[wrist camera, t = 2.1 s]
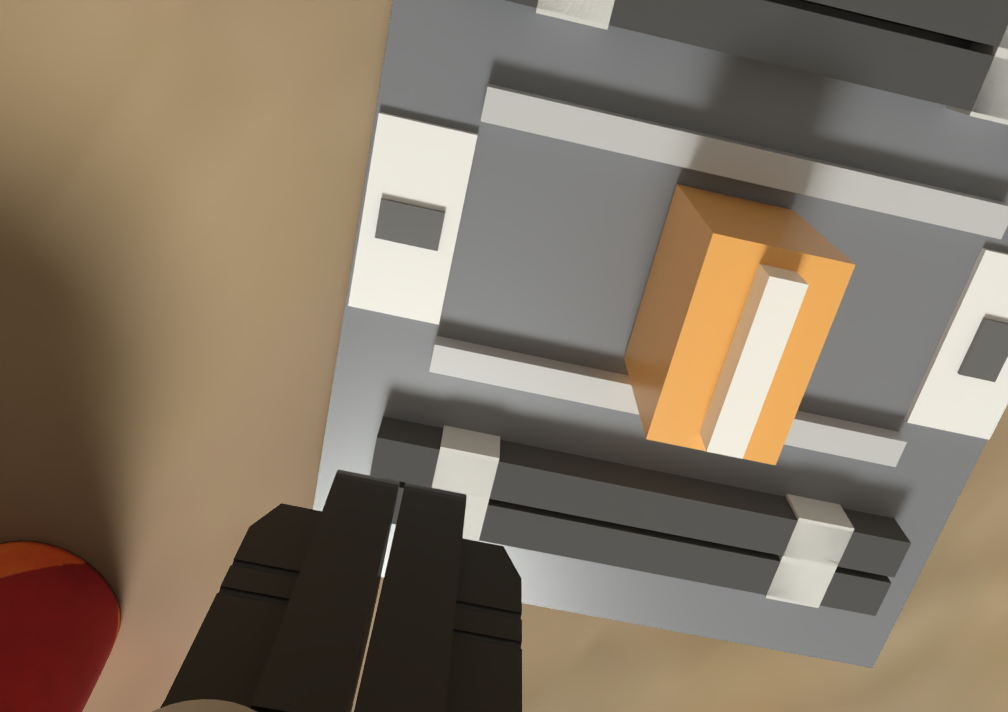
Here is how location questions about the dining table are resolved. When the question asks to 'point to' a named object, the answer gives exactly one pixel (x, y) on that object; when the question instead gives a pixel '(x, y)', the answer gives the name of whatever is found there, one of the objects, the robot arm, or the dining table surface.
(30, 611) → the paper cup
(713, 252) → the block
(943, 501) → the breaker panel
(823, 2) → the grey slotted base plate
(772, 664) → the dining table surface
